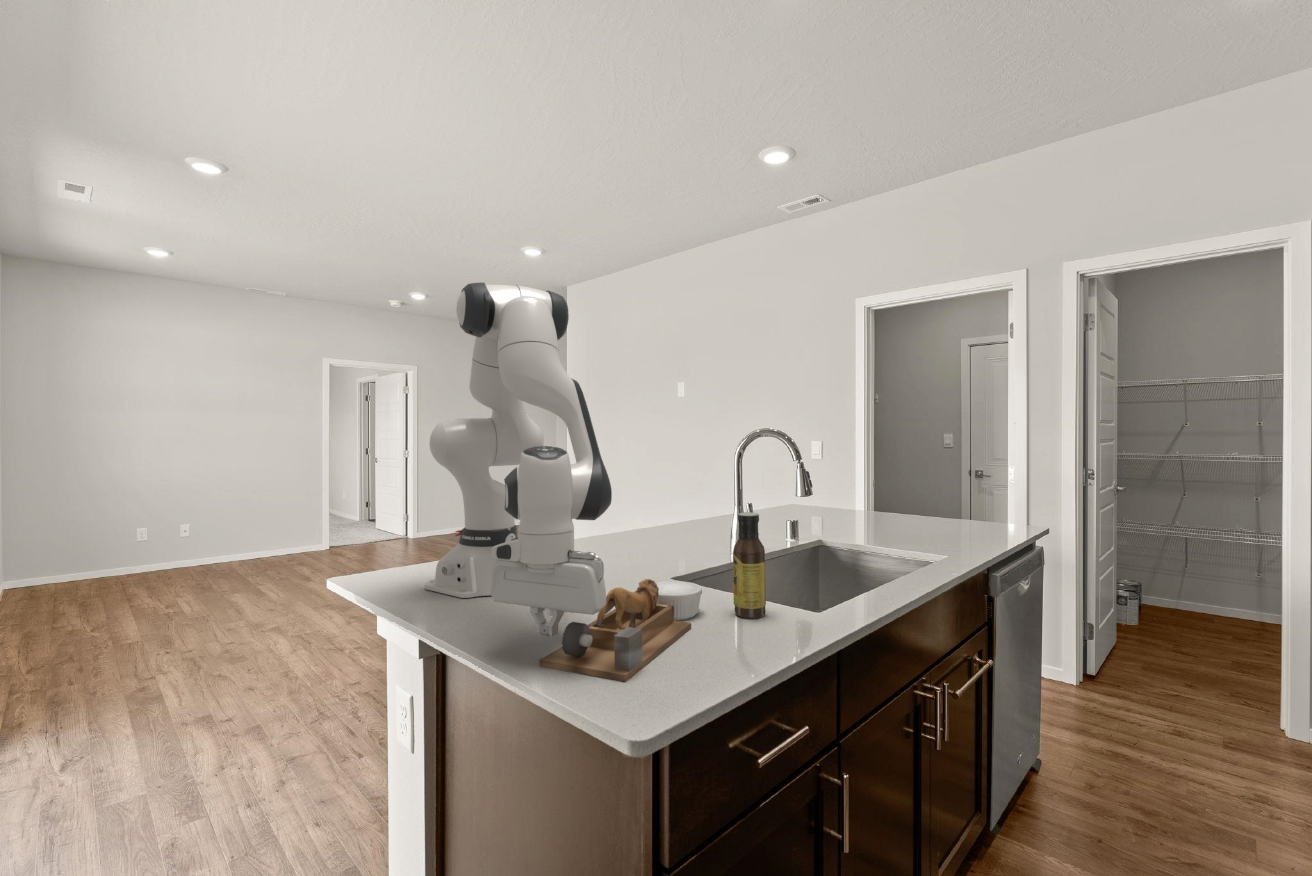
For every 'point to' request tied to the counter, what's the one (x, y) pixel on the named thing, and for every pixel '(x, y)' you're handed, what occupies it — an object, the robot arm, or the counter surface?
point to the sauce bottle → (749, 569)
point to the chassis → (622, 645)
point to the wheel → (576, 639)
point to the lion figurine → (631, 603)
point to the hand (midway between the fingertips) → (547, 634)
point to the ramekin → (680, 597)
